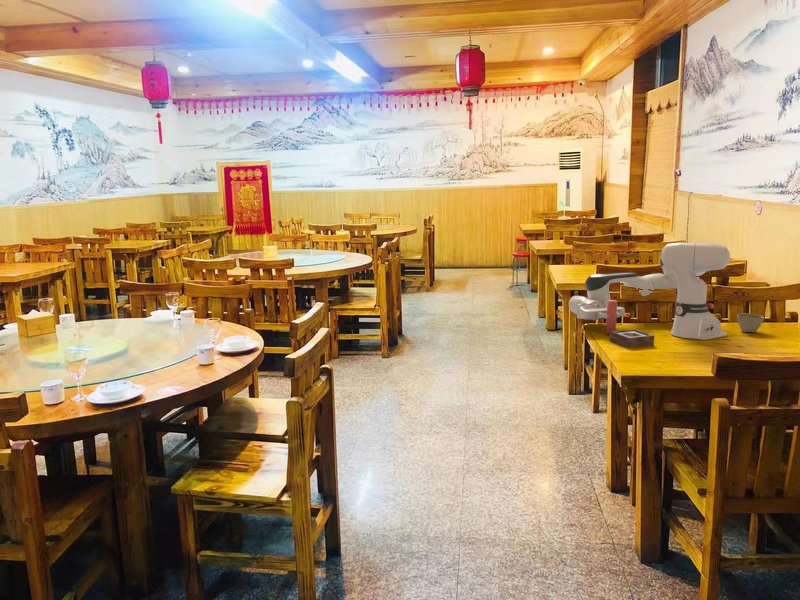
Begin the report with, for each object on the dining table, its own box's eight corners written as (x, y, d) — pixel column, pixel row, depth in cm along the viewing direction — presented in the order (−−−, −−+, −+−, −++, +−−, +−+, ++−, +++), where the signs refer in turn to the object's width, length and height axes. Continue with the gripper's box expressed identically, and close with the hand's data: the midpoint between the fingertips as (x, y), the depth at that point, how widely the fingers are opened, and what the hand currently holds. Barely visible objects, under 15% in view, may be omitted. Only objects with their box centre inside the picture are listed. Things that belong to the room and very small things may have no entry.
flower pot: (756, 335, 264) (758, 319, 263) (731, 331, 271) (733, 315, 270) (765, 331, 270) (767, 315, 269) (741, 328, 278) (742, 312, 277)
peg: (611, 331, 271) (613, 299, 269) (617, 333, 268) (619, 301, 265) (603, 332, 270) (605, 300, 268) (609, 334, 266) (611, 301, 264)
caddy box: (634, 338, 262) (634, 329, 261) (653, 345, 251) (654, 335, 250) (609, 340, 259) (610, 331, 258) (628, 348, 247) (628, 338, 247)
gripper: (613, 315, 283) (633, 321, 270) (573, 318, 277) (592, 325, 264) (614, 301, 282) (634, 307, 269) (574, 304, 276) (592, 310, 263)
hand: (612, 316), depth 267 cm, fingers closed on peg, 4 cm apart
